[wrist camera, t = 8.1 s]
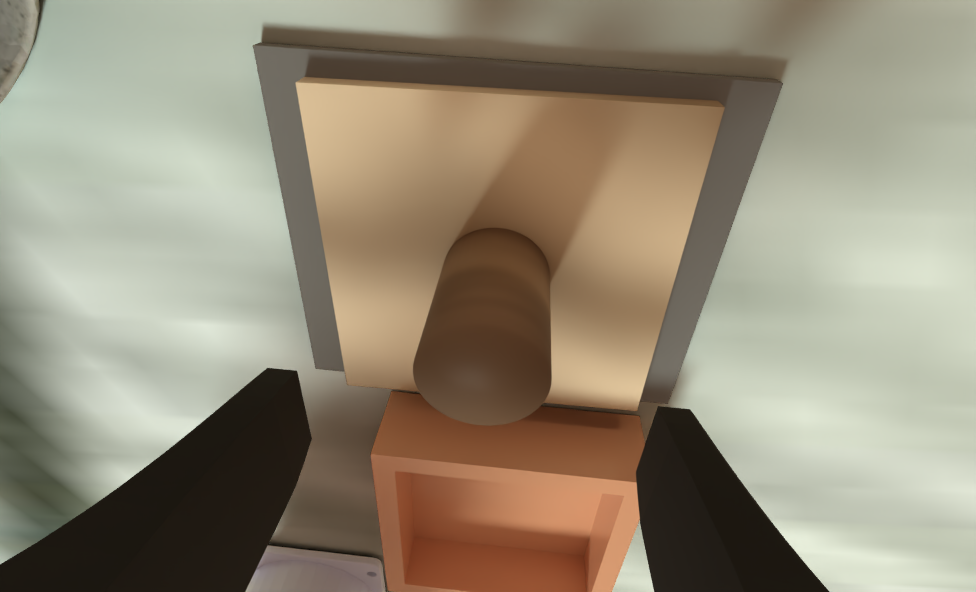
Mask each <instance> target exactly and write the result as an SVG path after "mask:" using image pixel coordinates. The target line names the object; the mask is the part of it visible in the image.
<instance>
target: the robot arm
mask: <svg viewBox="0 0 976 592" xmlns="http://www.w3.org/2000/svg"><path fill="white" fill-rule="evenodd" d="M311 439H312V438H311V433H310V429H309V424H308V420H307V415H306V410H305V406H304V401H303V397H302V392H301V387H300V383H299V378H298V374H297V371H293V370H283V369H272V368H267V369H266V370H264V371H263V372H262V373H261V374H260V375H258V376H257V377H256V378H255V379H253V380H252V381H251V382H250V383H249V384H247V385H246V386H245V387H244V388H243V389H241V390H240V391H239V392H238V393H237V394H235V395H234V396H233V397H232V398H231V399H230V400H228V401H227V402H226V403H225V404H224V405H222V406H221V407H220V408H219V409H218V410H216V411H215V412H214V413H213V414H212V415H210V416H209V417H208V418H207V419H206V420H204V421H203V422H202V423H201V424H200V425H198V426H197V427H196V428H195V429H193V430H192V431H191V432H190V433H188V434H187V435H186V436H185V437H184V438H182V439H181V440H180V441H179V442H177V443H176V444H175V445H174V446H172V447H171V448H170V449H169V450H167V451H166V452H165V453H164V454H162V455H161V456H160V457H158V458H157V459H156V460H154V461H153V462H152V463H150V464H149V465H148V466H146V467H145V468H144V469H143V470H141V471H140V472H139V473H137V474H136V475H135V476H133V477H132V478H131V479H129V480H128V481H127V482H125V483H124V484H123V485H121V486H120V487H119V488H117V489H116V490H114V491H113V492H112V493H110V494H109V495H107V496H106V497H105V498H103V499H102V500H100V501H99V502H97V503H96V504H95V505H93V506H92V507H90V508H89V509H87V510H86V511H84V512H83V513H81V514H80V515H78V516H77V517H75V518H74V519H72V520H71V521H69V522H68V523H66V524H65V525H63V526H62V527H60V528H59V529H57V530H56V531H54V532H53V533H51V534H49V535H48V536H46V537H45V538H43V539H42V540H40V541H38V542H37V543H35V544H34V545H32V546H30V547H29V548H27V549H25V550H24V551H22V552H20V553H19V554H17V555H15V556H14V557H12V558H10V559H9V560H7V561H5V562H4V563H2V564H0V592H386V589H385V582H384V574H383V567H382V563H381V561H380V560H379V559H377V558H373V557H365V556H356V555H347V554H339V553H330V552H321V551H313V550H304V549H295V548H287V547H278V546H269V545H268V544H269V542H270V540H271V537H272V535H273V533H274V531H275V529H276V527H277V525H278V523H279V521H280V519H281V517H282V514H283V512H284V510H285V508H286V506H287V504H288V502H289V500H290V498H291V495H292V493H293V491H294V489H295V487H296V484H297V481H298V478H299V475H300V473H301V470H302V467H303V464H304V461H305V458H306V455H307V452H308V449H309V445H310V442H311ZM636 482H637V495H638V506H639V516H640V524H641V529H642V535H643V540H644V544H645V549H646V554H647V559H648V564H649V569H650V573H651V578H652V583H653V588H654V592H829V591H828V590H827V588H826V587H825V586H824V585H823V584H822V583H821V582H820V580H819V579H818V578H817V577H816V576H815V575H814V573H813V572H812V571H811V570H810V569H809V568H808V566H807V565H806V564H805V563H804V562H803V560H802V559H801V558H800V557H799V555H798V554H797V553H796V552H795V551H794V549H793V548H792V547H791V546H790V545H789V543H788V542H787V541H786V540H785V538H784V537H783V536H782V535H781V533H780V532H779V531H778V530H777V528H776V527H775V526H774V525H773V523H772V522H771V521H770V519H769V518H768V517H767V515H766V514H765V513H764V511H763V510H762V509H761V508H760V506H759V505H758V504H757V502H756V501H755V500H754V498H753V497H752V496H751V494H750V493H749V492H748V490H747V489H746V488H745V486H744V485H743V484H742V482H741V481H740V480H739V478H738V477H737V475H736V474H735V473H734V471H733V470H732V468H731V467H730V466H729V464H728V463H727V461H726V460H725V459H724V457H723V456H722V454H721V453H720V451H719V450H718V449H717V447H716V446H715V444H714V443H713V441H712V440H711V439H710V437H709V436H708V434H707V433H706V431H705V430H704V428H703V427H702V425H701V424H700V423H699V421H698V420H697V418H696V417H695V415H694V414H693V413H692V412H691V410H690V409H681V408H670V407H660V406H658V408H657V411H656V414H655V417H654V420H653V423H652V426H651V429H650V432H649V435H648V438H647V440H646V443H645V446H644V449H643V452H642V455H641V458H640V461H639V464H638V467H637V470H636Z"/></svg>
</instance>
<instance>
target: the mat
mask: <svg viewBox="0 0 976 592" xmlns="http://www.w3.org/2000/svg"><path fill="white" fill-rule="evenodd" d="M253 48H254V53H255V59H256V64H257V69H258V74H259V79H260V84H261V89H262V95H263V100H264V105H265V110H266V115H267V120H268V126H269V131H270V136H271V141H272V146H273V151H274V157H275V162H276V167H277V172H278V177H279V182H280V187H281V193H282V198H283V203H284V208H285V213H286V218H287V224H288V229H289V234H290V239H291V244H292V249H293V254H294V260H295V265H296V270H297V275H298V280H299V285H300V291H301V296H302V301H303V306H304V311H305V316H306V321H307V327H308V332H309V337H310V342H311V347H312V352H313V358H314V363H315V368H316V369H323V370H333V371H343V372H345V370H344V364H343V358H342V352H341V346H340V341H339V335H338V329H337V323H336V317H335V311H334V305H333V300H332V294H331V288H330V282H329V276H328V270H327V264H326V259H325V253H324V247H323V241H322V235H321V229H320V223H319V217H318V212H317V206H316V200H315V194H314V188H313V182H312V176H311V171H310V165H309V159H308V153H307V147H306V141H305V135H304V130H303V124H302V118H301V112H300V106H299V100H298V94H297V89H296V83H295V82H297V81H299V80H300V79H302V78H304V77H315V78H332V79H350V80H367V81H384V82H402V83H419V84H436V85H454V86H471V87H488V88H506V89H523V90H540V91H558V92H575V93H592V94H610V95H627V96H644V97H662V98H679V99H696V100H714V101H719V102H720V103H721V104H722V105H723V106H724V107H725V108H724V112H723V115H722V119H721V122H720V126H719V129H718V133H717V136H716V139H715V143H714V146H713V150H712V153H711V157H710V160H709V164H708V167H707V171H706V174H705V177H704V181H703V184H702V188H701V191H700V195H699V198H698V202H697V205H696V209H695V212H694V215H693V219H692V222H691V226H690V229H689V233H688V236H687V240H686V243H685V246H684V250H683V253H682V257H681V260H680V264H679V267H678V271H677V274H676V278H675V281H674V284H673V288H672V291H671V295H670V298H669V302H668V305H667V309H666V312H665V315H664V319H663V322H662V326H661V329H660V333H659V336H658V340H657V343H656V347H655V350H654V353H653V357H652V360H651V364H650V367H649V371H648V374H647V378H646V381H645V385H644V388H643V391H642V395H641V398H640V401H645V402H655V403H665V404H668V402H669V399H670V397H671V394H672V391H673V388H674V386H675V383H676V380H677V377H678V374H679V372H680V369H681V366H682V363H683V360H684V358H685V355H686V352H687V349H688V347H689V344H690V341H691V338H692V335H693V333H694V330H695V327H696V324H697V322H698V319H699V316H700V313H701V310H702V308H703V305H704V302H705V299H706V296H707V294H708V291H709V288H710V285H711V283H712V280H713V277H714V274H715V271H716V269H717V266H718V263H719V260H720V257H721V255H722V252H723V249H724V246H725V244H726V241H727V238H728V235H729V232H730V230H731V227H732V224H733V221H734V218H735V216H736V213H737V210H738V207H739V205H740V202H741V199H742V196H743V193H744V191H745V188H746V185H747V182H748V179H749V177H750V174H751V171H752V168H753V166H754V163H755V160H756V157H757V154H758V152H759V149H760V146H761V143H762V140H763V138H764V135H765V132H766V129H767V127H768V124H769V121H770V118H771V115H772V113H773V110H774V107H775V104H776V102H777V99H778V96H779V93H780V90H781V88H782V85H783V83H782V82H780V81H778V80H776V79H762V78H748V77H734V76H720V75H706V74H692V73H678V72H664V71H650V70H636V69H622V68H608V67H594V66H580V65H566V64H552V63H538V62H524V61H510V60H496V59H482V58H468V57H454V56H440V55H426V54H412V53H398V52H384V51H370V50H356V49H342V48H328V47H314V46H300V45H286V44H272V43H258V44H255V45H253Z"/></svg>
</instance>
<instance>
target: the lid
mask: <svg viewBox="0 0 976 592" xmlns="http://www.w3.org/2000/svg"><path fill="white" fill-rule="evenodd" d="M295 83H296V89H297V94H298V100H299V106H300V112H301V118H302V124H303V130H304V135H305V141H306V147H307V153H308V159H309V165H310V171H311V176H312V182H313V188H314V194H315V200H316V206H317V212H318V217H319V223H320V229H321V235H322V241H323V247H324V253H325V259H326V264H327V270H328V276H329V282H330V288H331V294H332V300H333V305H334V311H335V317H336V323H337V329H338V335H339V341H340V346H341V352H342V358H343V364H344V370H345V376H346V382H347V385H353V386H364V387H375V388H386V389H397V390H408V391H419V392H420V394H421V395H422V396H423V398H424V399H425V400H426V401H427V402H428V403H429V404H430V405H431V406H432V407H434V408H435V409H436V410H438V411H439V412H441V413H442V414H444V415H446V416H448V417H450V418H453V419H455V420H458V421H461V422H464V423H469V424H474V425H485V426H492V425H503V424H508V423H512V422H515V421H518V420H521V419H523V418H525V417H527V416H528V415H530V414H532V413H533V412H534V411H536V410H537V409H538V408H539V407H540V406H541V405H542V404H543V403H553V404H565V405H576V406H587V407H598V408H609V409H620V410H632V411H637V409H638V405H639V402H640V398H641V395H642V391H643V388H644V385H645V381H646V378H647V374H648V371H649V367H650V364H651V360H652V357H653V353H654V350H655V347H656V343H657V340H658V336H659V333H660V329H661V326H662V322H663V319H664V315H665V312H666V309H667V305H668V302H669V298H670V295H671V291H672V288H673V284H674V281H675V278H676V274H677V271H678V267H679V264H680V260H681V257H682V253H683V250H684V246H685V243H686V240H687V236H688V233H689V229H690V226H691V222H692V219H693V215H694V212H695V209H696V205H697V202H698V198H699V195H700V191H701V188H702V184H703V181H704V177H705V174H706V171H707V167H708V164H709V160H710V157H711V153H712V150H713V146H714V143H715V139H716V136H717V133H718V129H719V126H720V122H721V119H722V115H723V112H724V108H725V107H724V106H723V105H722V104H721V103H720V102H719V101H714V100H696V99H679V98H662V97H644V96H627V95H610V94H592V93H575V92H558V91H540V90H523V89H506V88H488V87H471V86H454V85H436V84H419V83H402V82H384V81H367V80H350V79H332V78H315V77H304V78H302V79H300V80H299V81H297V82H295Z"/></svg>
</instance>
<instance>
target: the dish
mask: <svg viewBox="0 0 976 592" xmlns="http://www.w3.org/2000/svg"><path fill="white" fill-rule="evenodd" d="M644 446H645V441H644V436H643V431H642V426H641V421H640V416H634V415H624V414H614V413H604V412H594V411H584V410H574V409H564V408H554V407H544V406H540V407H539V408H538V409H537V410H536V411H534V412H533V413H532V414H530V415H528V416H527V417H525V418H523V419H521V420H518V421H515V422H512V423H508V424H503V425H492V426H485V425H474V424H469V423H464V422H461V421H458V420H455V419H453V418H450V417H448V416H446V415H444V414H442V413H441V412H439V411H438V410H436V409H435V408H434V407H432V406H431V405H430V404H429V403H428V402H427V401H426V400H425V399H424V398H423V396H422V395H421V394H415V393H405V392H396V391H391V394H390V397H389V400H388V403H387V406H386V409H385V412H384V415H383V418H382V421H381V424H380V427H379V430H378V433H377V436H376V439H375V442H374V445H373V448H372V451H371V454H370V455H371V462H372V470H373V478H374V486H375V494H376V502H377V509H378V517H379V525H380V533H381V541H382V549H383V557H384V564H385V572H386V580H387V588H388V591H393V592H612V590H613V587H614V585H615V582H616V579H617V577H618V574H619V572H620V569H621V566H622V564H623V561H624V559H625V556H626V553H627V551H628V548H629V546H630V543H631V540H632V538H633V535H634V533H635V530H636V527H637V525H638V522H639V520H640V516H639V506H638V495H637V482H636V470H637V467H638V464H639V461H640V458H641V455H642V452H643V449H644Z"/></svg>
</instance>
